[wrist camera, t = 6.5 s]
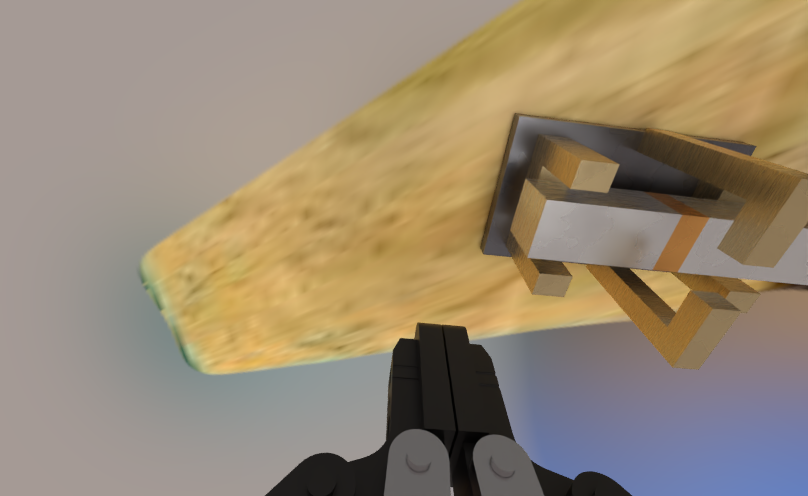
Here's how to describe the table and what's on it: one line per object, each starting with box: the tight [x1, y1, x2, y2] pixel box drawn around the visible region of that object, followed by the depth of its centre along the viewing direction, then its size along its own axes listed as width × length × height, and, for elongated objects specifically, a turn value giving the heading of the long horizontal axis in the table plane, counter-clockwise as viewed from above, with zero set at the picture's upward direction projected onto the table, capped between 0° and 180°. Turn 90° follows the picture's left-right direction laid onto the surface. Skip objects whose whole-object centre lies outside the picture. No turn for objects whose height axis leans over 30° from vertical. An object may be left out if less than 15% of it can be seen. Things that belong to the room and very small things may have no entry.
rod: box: [510, 178, 808, 285], centre depth 22 cm, size 20×4×4 cm, turn 83°
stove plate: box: [481, 114, 756, 272], centre depth 26 cm, size 16×10×1 cm, turn 83°
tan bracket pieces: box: [506, 134, 760, 313], centre depth 23 cm, size 14×8×6 cm, turn 83°
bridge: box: [586, 128, 808, 369], centre depth 21 cm, size 2×10×10 cm, turn 173°
